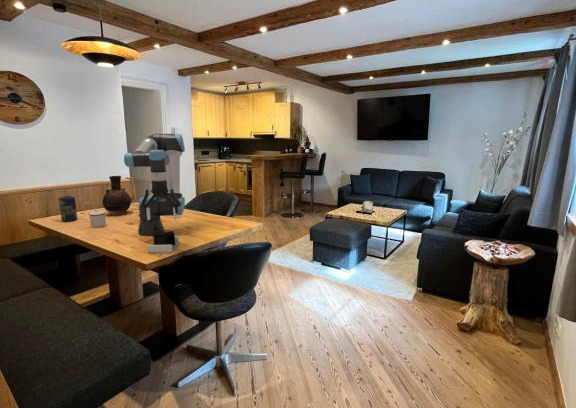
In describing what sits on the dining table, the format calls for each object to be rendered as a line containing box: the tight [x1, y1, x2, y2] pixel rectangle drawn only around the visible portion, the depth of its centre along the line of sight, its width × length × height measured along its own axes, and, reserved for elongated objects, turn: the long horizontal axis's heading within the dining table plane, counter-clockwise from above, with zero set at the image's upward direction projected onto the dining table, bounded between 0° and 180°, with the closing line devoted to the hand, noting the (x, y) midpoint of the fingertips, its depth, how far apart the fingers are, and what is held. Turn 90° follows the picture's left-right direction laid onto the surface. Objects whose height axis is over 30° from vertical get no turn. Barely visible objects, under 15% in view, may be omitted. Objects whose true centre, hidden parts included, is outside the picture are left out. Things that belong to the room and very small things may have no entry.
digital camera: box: [152, 230, 176, 245], centre depth 172 cm, size 10×5×7 cm, turn 125°
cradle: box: [146, 235, 180, 254], centre depth 172 cm, size 12×16×4 cm
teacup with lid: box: [88, 208, 107, 229], centre depth 212 cm, size 12×9×12 cm
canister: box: [58, 195, 78, 222], centre depth 225 cm, size 10×10×18 cm
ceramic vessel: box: [102, 175, 132, 216], centre depth 244 cm, size 21×18×30 cm
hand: (162, 219), depth 170 cm, fingers open, 13 cm apart
